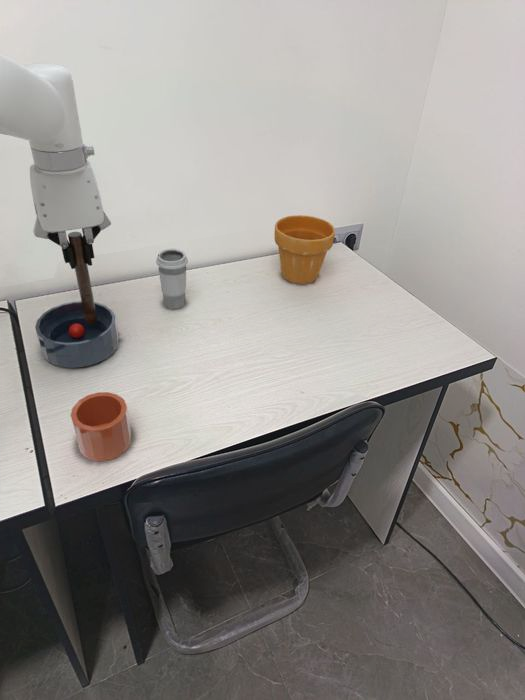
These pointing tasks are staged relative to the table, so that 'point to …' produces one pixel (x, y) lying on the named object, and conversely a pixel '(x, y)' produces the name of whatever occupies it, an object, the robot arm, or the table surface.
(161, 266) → the cup
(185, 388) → the table surface
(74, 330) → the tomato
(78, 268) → the stick
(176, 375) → the table surface
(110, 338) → the bowl
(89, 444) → the holder
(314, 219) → the flower pot
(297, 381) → the table surface
